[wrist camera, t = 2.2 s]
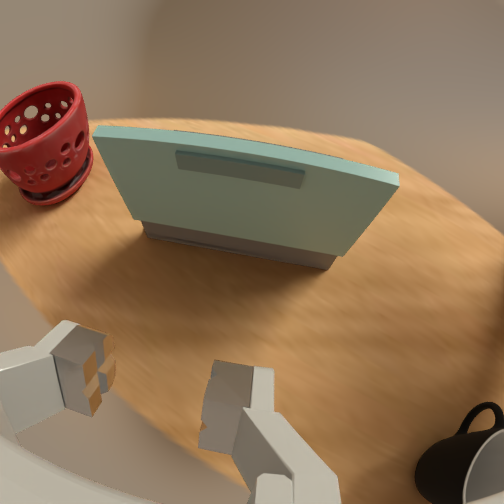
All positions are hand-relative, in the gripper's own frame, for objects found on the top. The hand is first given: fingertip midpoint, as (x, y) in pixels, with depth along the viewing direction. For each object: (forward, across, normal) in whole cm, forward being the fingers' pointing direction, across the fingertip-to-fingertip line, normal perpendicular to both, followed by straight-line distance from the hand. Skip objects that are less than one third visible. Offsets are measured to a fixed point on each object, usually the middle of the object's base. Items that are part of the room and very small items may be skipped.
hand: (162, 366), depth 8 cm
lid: (+18, 0, -2) cm, 18 cm away
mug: (+12, -26, +20) cm, 35 cm away
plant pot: (+32, +26, 0) cm, 41 cm away
